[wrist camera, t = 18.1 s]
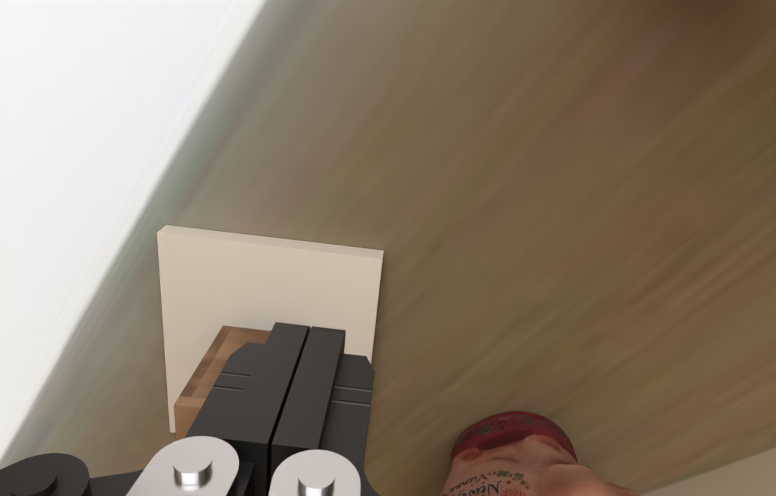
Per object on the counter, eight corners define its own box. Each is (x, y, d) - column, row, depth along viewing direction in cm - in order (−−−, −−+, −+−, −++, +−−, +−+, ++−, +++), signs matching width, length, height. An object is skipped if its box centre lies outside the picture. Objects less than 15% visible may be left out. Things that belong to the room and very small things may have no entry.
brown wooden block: (305, 335, 40) (276, 416, 32) (302, 401, 42) (274, 493, 34) (223, 325, 40) (173, 404, 32) (224, 392, 42) (178, 482, 34)
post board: (383, 250, 40) (372, 330, 30) (362, 441, 47) (347, 558, 37) (165, 224, 40) (81, 296, 30) (177, 419, 48) (112, 530, 37)
